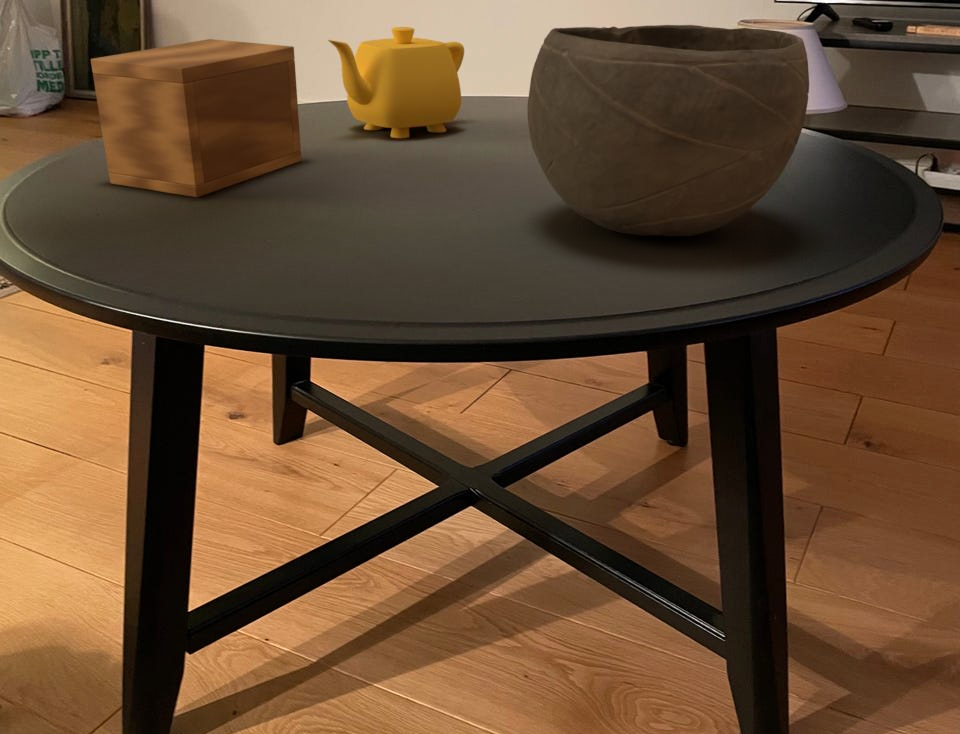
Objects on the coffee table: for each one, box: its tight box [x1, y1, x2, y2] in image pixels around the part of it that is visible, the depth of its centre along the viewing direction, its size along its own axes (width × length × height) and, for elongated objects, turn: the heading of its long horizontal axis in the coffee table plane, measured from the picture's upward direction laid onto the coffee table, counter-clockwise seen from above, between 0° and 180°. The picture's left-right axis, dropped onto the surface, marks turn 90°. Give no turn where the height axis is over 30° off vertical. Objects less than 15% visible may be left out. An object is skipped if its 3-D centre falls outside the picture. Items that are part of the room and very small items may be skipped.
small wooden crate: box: [90, 38, 302, 198], centre depth 95 cm, size 10×16×11 cm, turn 154°
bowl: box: [527, 24, 810, 237], centre depth 81 cm, size 21×21×15 cm
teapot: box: [327, 26, 465, 139], centre depth 114 cm, size 18×11×11 cm, turn 130°
